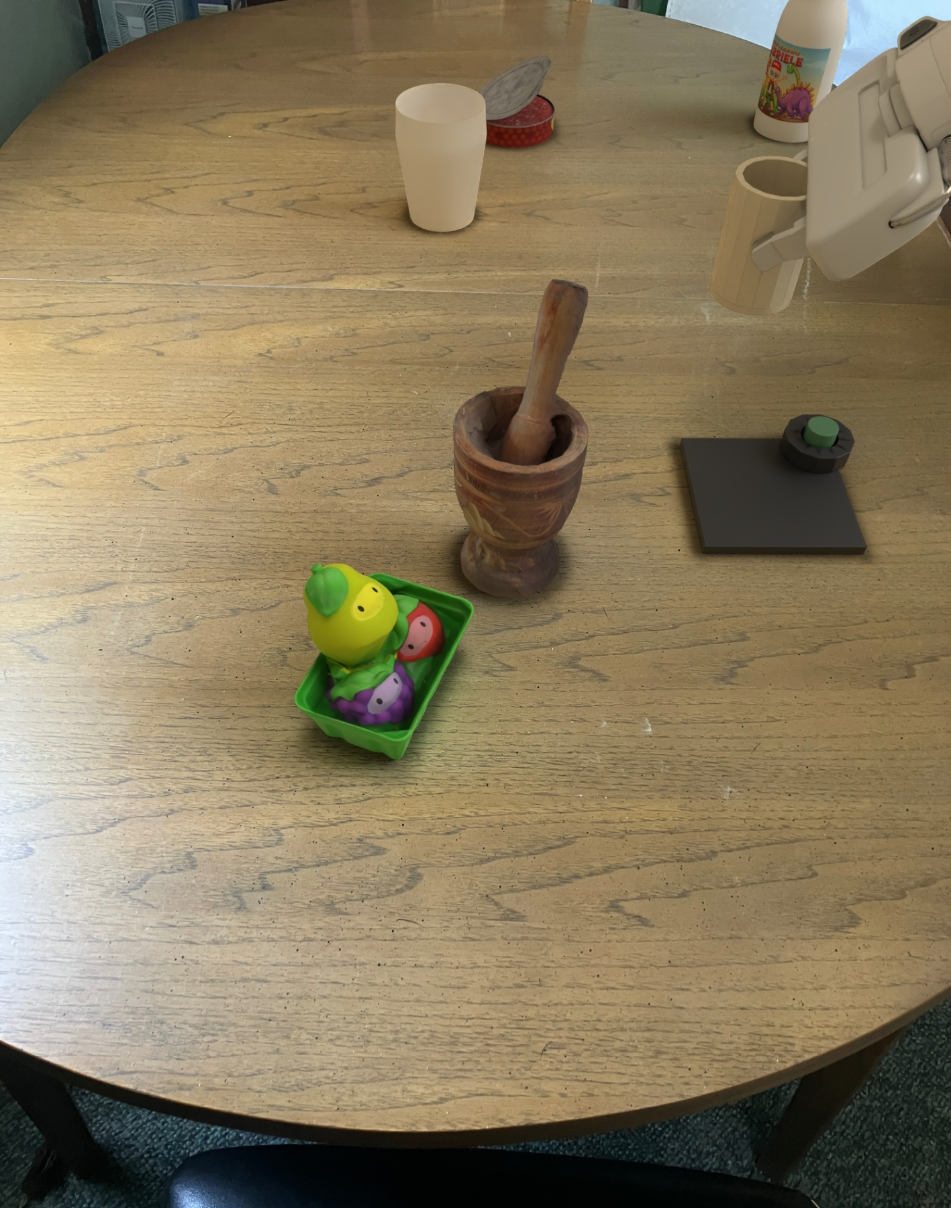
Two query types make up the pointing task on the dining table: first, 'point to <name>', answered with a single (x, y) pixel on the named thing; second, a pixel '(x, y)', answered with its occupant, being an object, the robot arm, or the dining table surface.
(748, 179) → the tan hollow cylinder
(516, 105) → the canned food
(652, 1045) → the dining table surface
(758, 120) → the milk bottle
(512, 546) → the mortar and pestle
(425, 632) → the fruit basket
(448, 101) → the cup
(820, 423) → the button
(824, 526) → the scale
